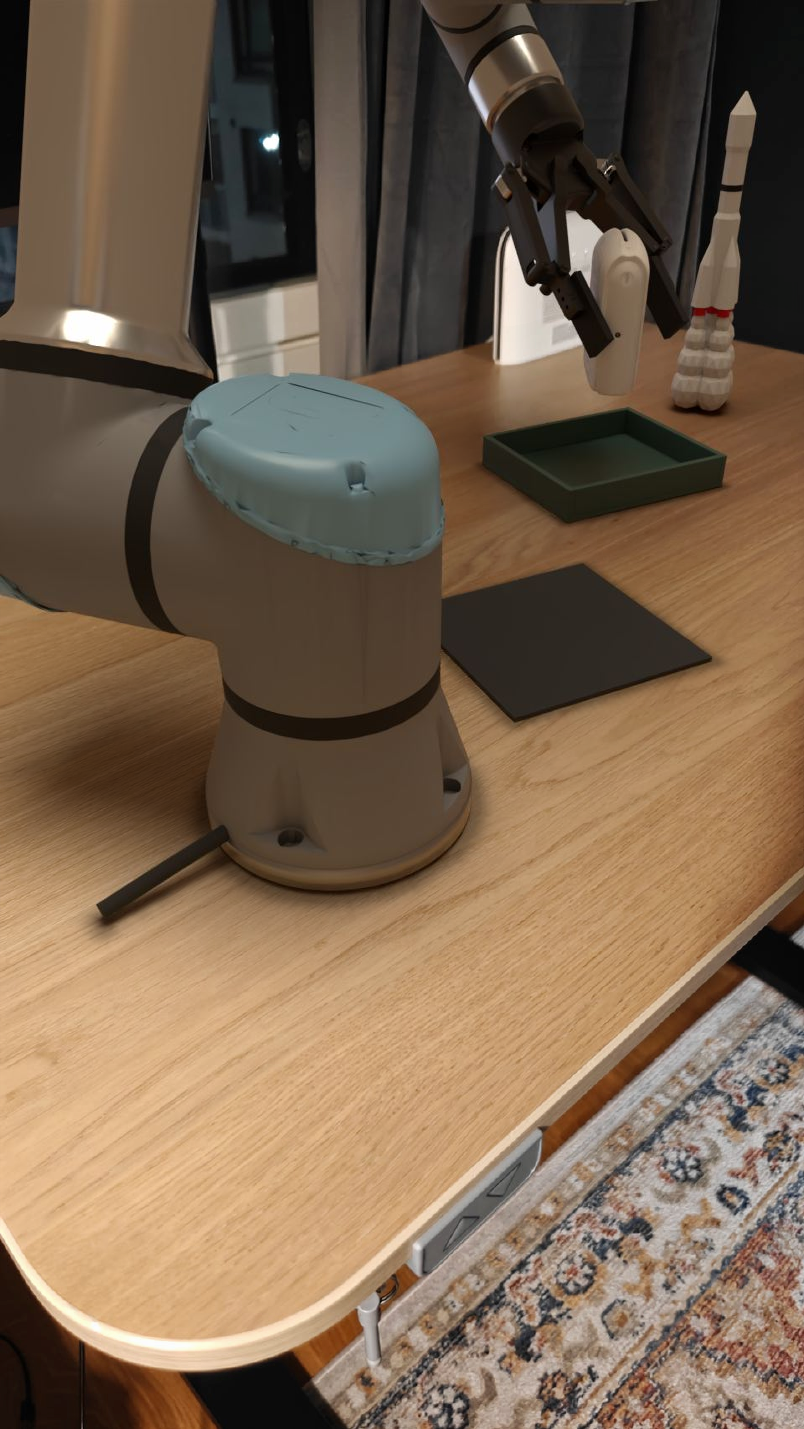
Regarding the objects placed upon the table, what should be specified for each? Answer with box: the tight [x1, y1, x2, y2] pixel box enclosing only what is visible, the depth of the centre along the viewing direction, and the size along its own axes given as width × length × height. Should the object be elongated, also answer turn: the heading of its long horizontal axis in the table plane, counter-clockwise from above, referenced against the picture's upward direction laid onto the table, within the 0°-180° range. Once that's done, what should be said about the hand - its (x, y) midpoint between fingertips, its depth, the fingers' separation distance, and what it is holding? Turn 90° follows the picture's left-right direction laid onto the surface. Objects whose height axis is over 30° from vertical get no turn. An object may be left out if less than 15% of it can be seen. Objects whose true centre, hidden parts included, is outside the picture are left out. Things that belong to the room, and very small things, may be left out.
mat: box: [441, 562, 713, 722], centre depth 74 cm, size 16×16×1 cm
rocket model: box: [670, 90, 757, 412], centre depth 105 cm, size 7×7×30 cm
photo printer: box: [582, 228, 650, 397], centre depth 89 cm, size 10×4×12 cm, turn 177°
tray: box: [481, 406, 728, 524], centre depth 97 cm, size 17×15×3 cm
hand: (640, 339), depth 88 cm, fingers closed on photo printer, 8 cm apart
